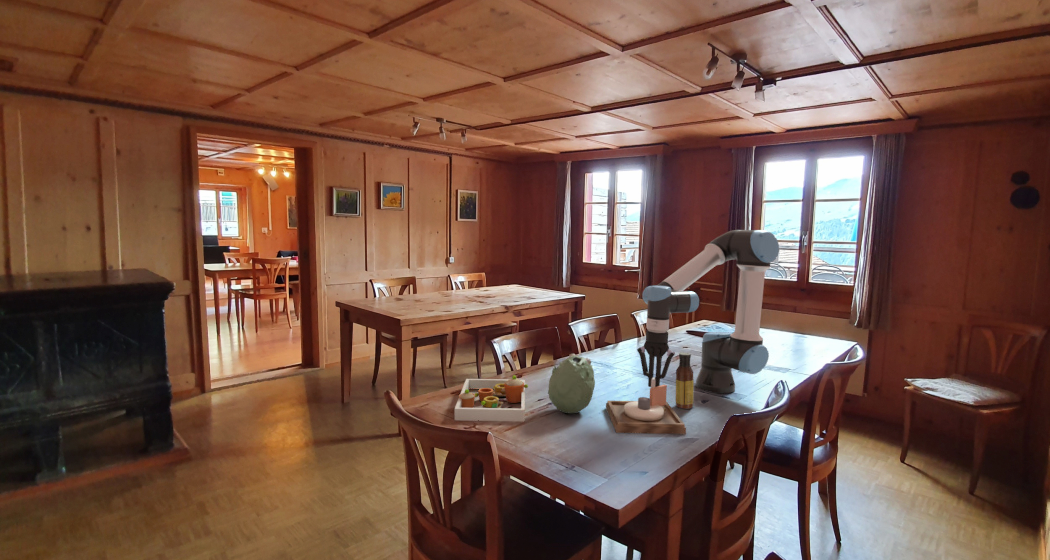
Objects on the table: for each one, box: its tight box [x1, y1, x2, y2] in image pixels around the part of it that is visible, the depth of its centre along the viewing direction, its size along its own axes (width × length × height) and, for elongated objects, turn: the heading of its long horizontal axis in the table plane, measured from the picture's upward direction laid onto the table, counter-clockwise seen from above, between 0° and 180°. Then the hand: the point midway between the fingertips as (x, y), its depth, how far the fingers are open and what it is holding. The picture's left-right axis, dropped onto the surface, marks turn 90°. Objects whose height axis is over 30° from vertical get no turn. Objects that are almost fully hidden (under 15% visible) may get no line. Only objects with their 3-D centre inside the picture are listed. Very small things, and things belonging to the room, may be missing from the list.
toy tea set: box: [458, 375, 529, 408], centre depth 186 cm, size 26×16×10 cm, turn 138°
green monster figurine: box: [547, 353, 596, 414], centre depth 179 cm, size 16×19×20 cm
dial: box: [624, 384, 668, 421], centre depth 174 cm, size 18×13×8 cm
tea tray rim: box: [454, 378, 526, 422], centre depth 187 cm, size 23×33×4 cm
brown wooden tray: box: [605, 400, 687, 435], centre depth 173 cm, size 22×22×3 cm
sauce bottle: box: [675, 352, 695, 410], centre depth 186 cm, size 7×6×20 cm
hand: (653, 396), depth 179 cm, fingers closed
